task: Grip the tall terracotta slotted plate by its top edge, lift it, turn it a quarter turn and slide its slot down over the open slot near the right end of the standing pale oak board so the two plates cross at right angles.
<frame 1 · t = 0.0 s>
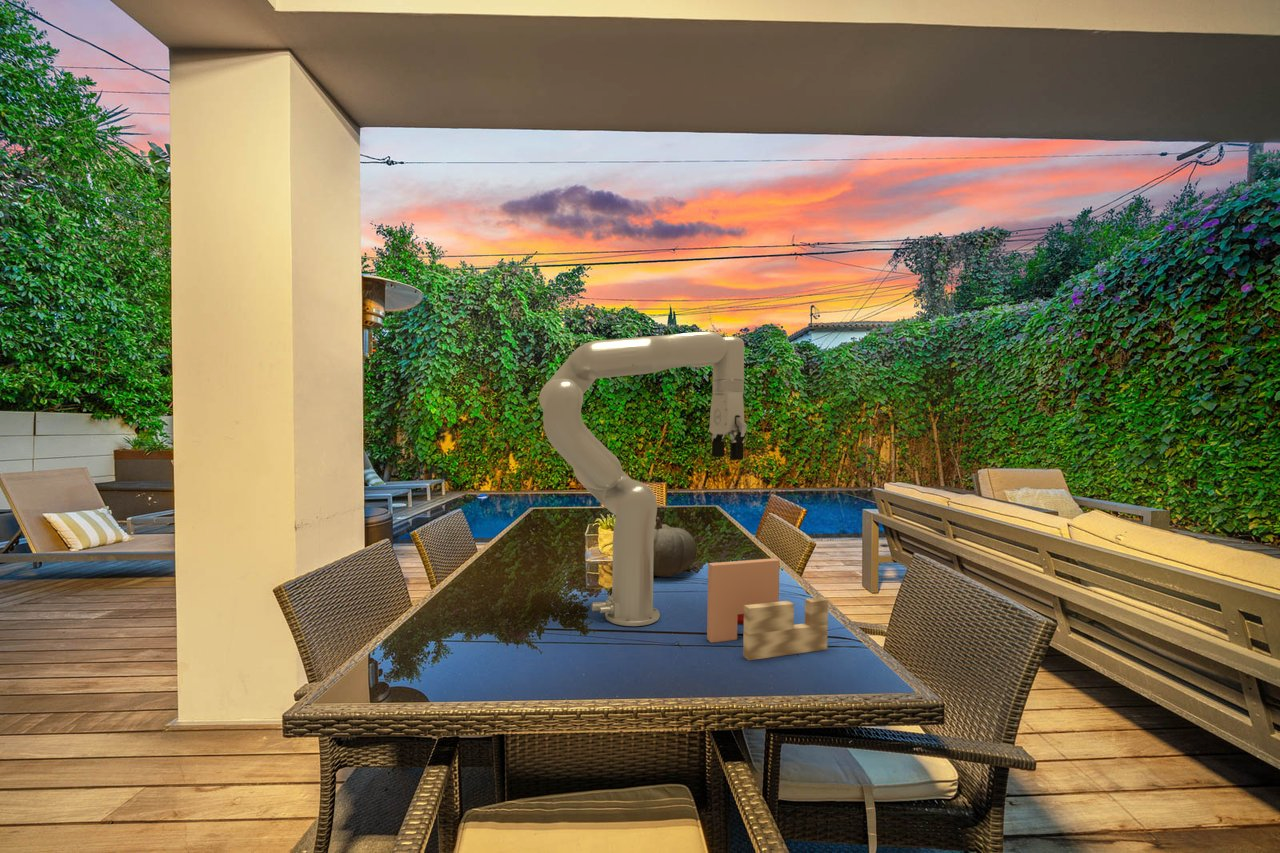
hand: (727, 458, 140), 37 cm above the table, fingers open, 9 cm apart
gourd: (655, 572, 173), on the table
canned food: (741, 619, 133), on the table
terracotta plate: (743, 636, 122), on the table
oak board: (785, 652, 114), on the table
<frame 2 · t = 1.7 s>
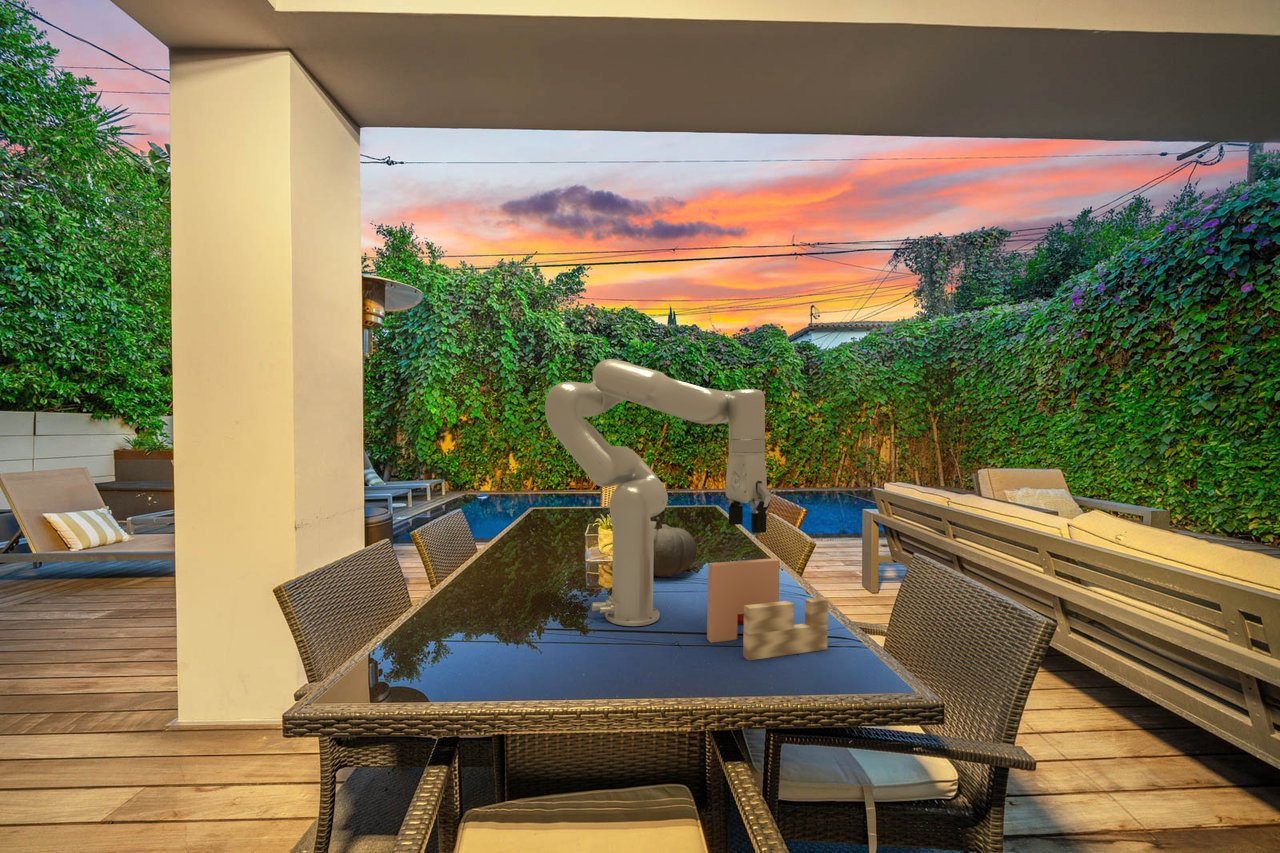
hand: (746, 528, 121), 23 cm above the table, fingers open, 9 cm apart
nothing on the table moved.
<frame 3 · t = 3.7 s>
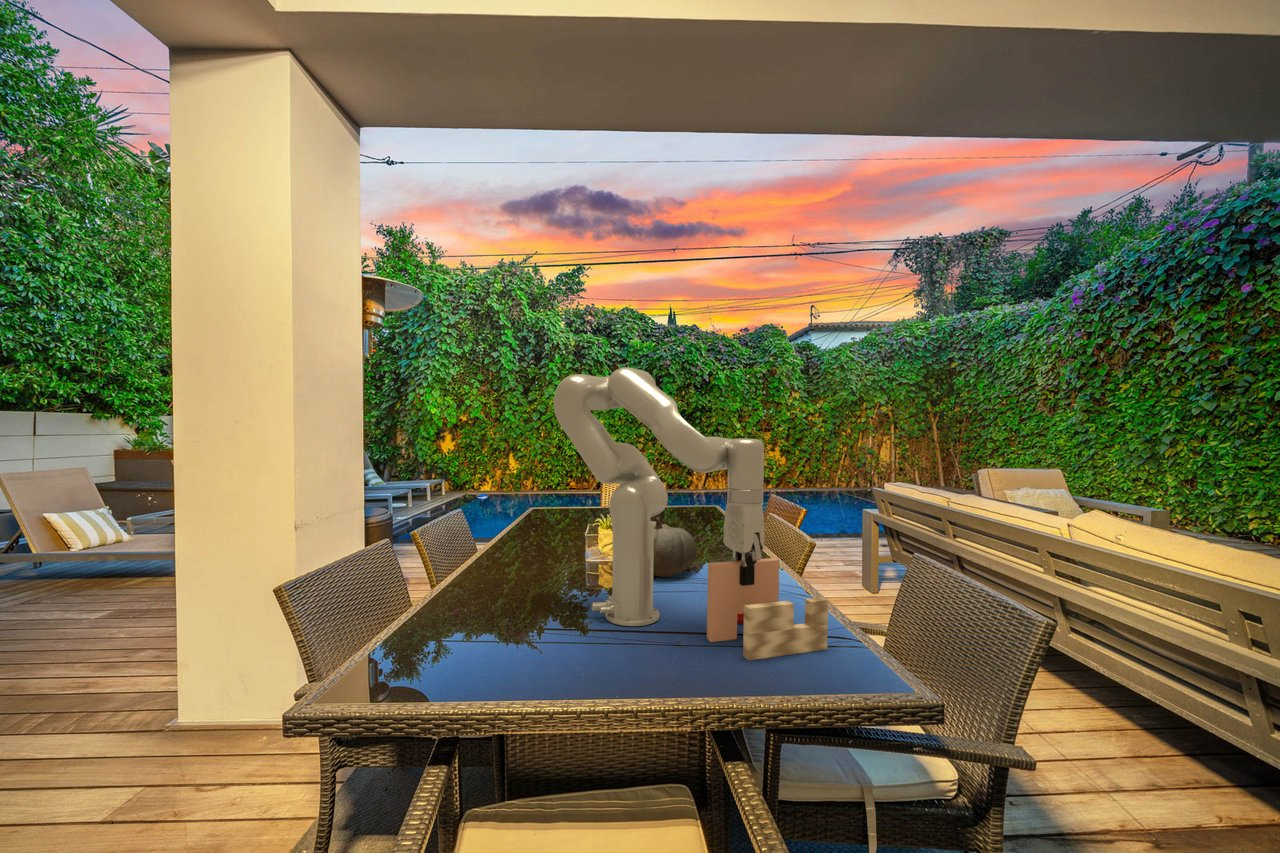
hand: (743, 582, 122), 12 cm above the table, fingers closed on terracotta plate, 2 cm apart
terracotta plate: (742, 636, 122), on the table, touching gripper
everything else where it was.
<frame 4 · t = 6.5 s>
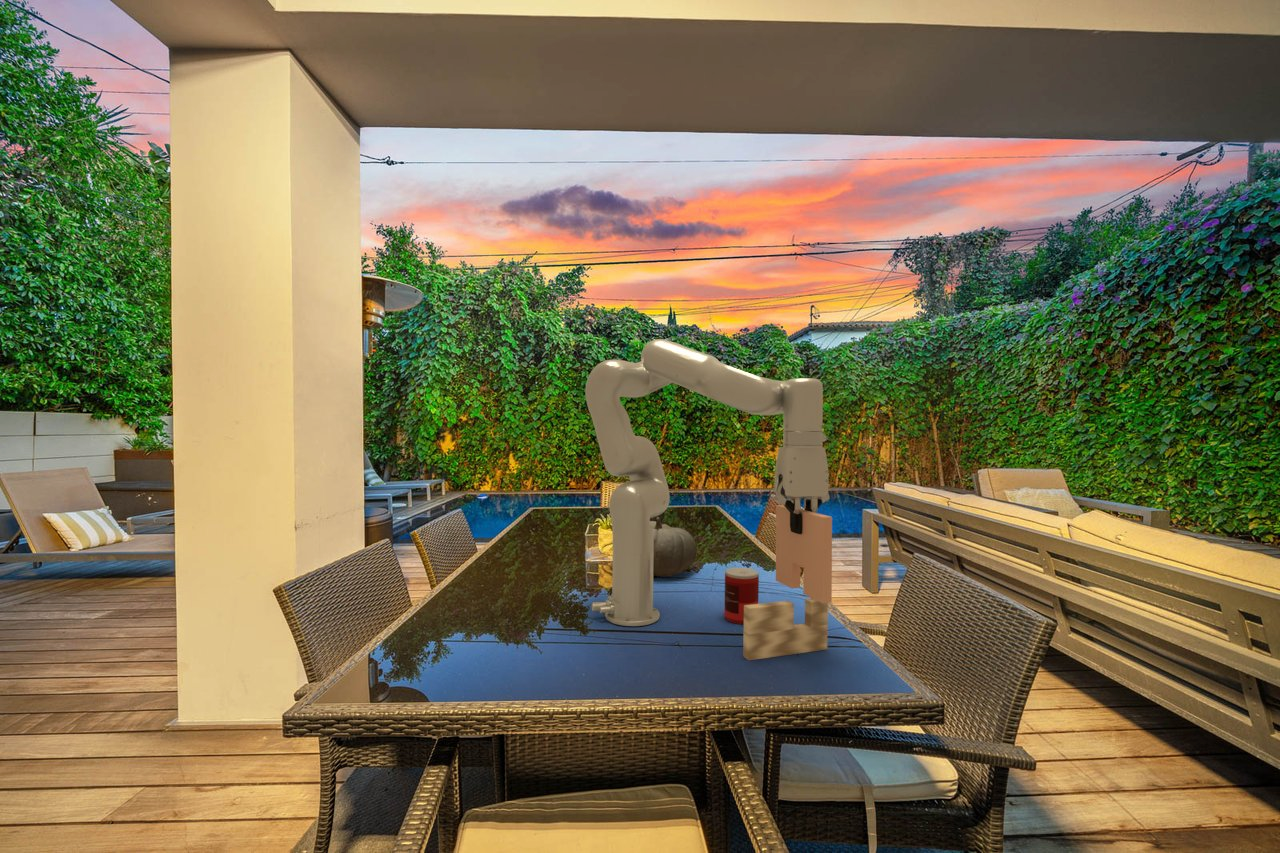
hand: (802, 531, 114), 24 cm above the table, fingers closed on terracotta plate
terracotta plate: (801, 590, 114), point 12 cm above the table, touching gripper
everything else where it was.
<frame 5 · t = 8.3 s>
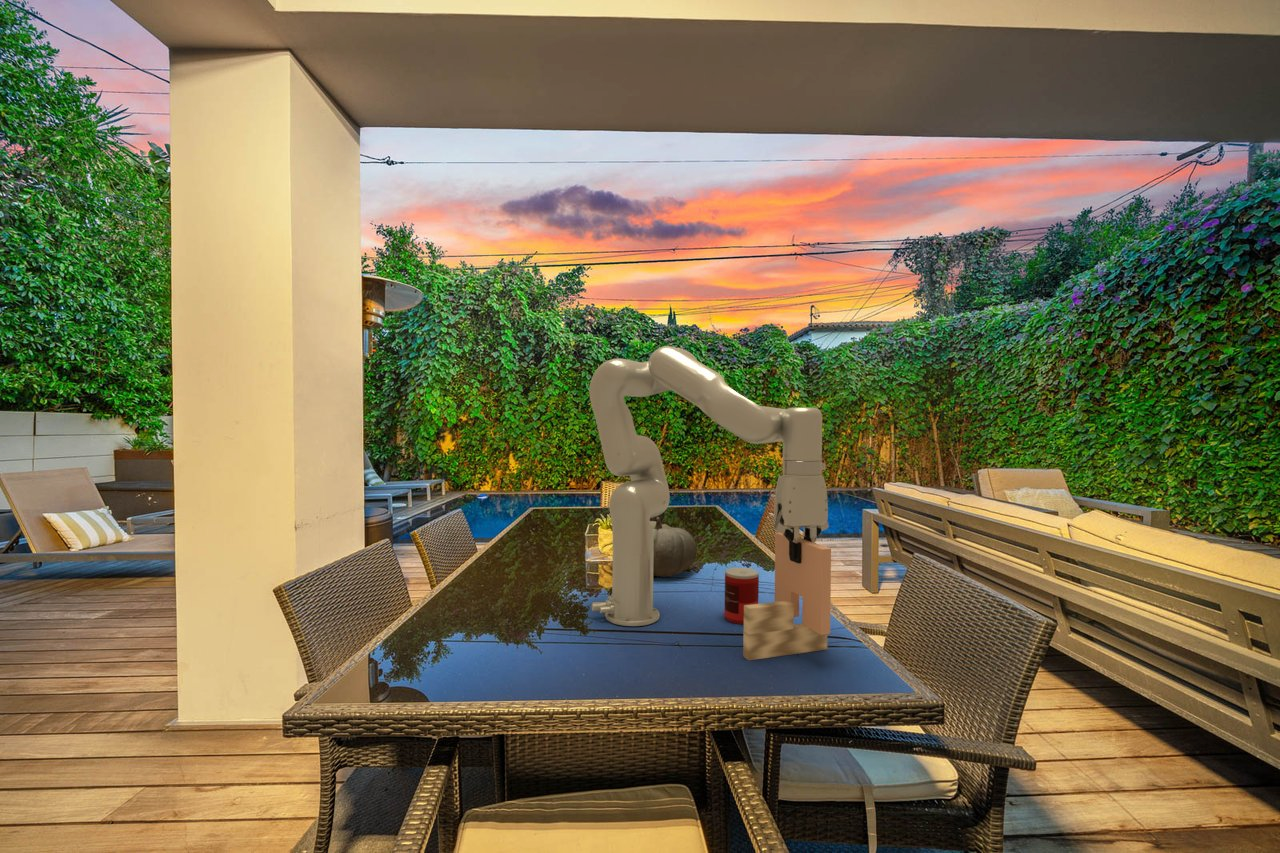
hand: (801, 560, 114), 18 cm above the table, fingers closed on terracotta plate
terracotta plate: (800, 620, 114), point 6 cm above the table, touching gripper
everything else where it was.
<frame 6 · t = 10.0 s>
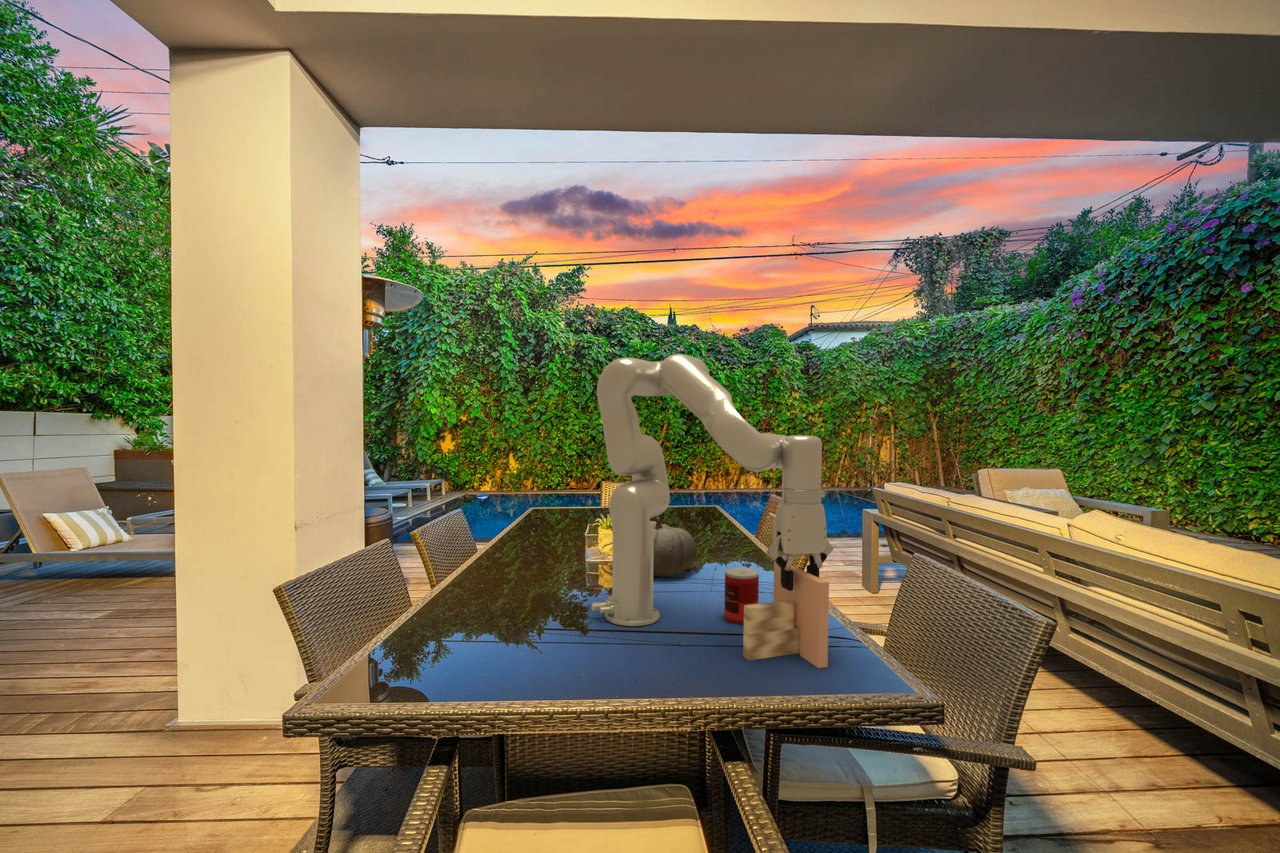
hand: (799, 586, 114), 13 cm above the table, fingers open, 5 cm apart
terracotta plate: (798, 650, 115), on the table
everything else where it was.
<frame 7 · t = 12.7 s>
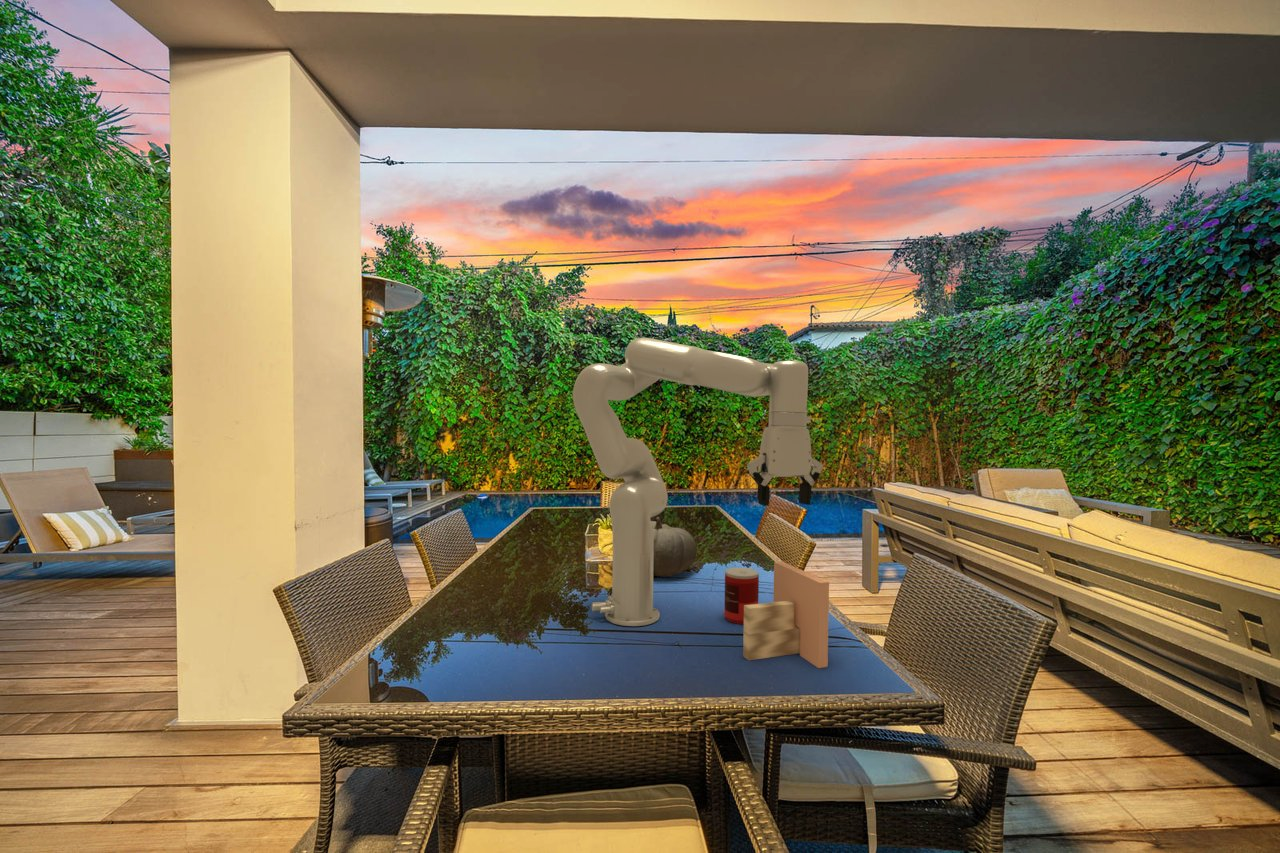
hand: (784, 504, 118), 29 cm above the table, fingers open, 9 cm apart
nothing on the table moved.
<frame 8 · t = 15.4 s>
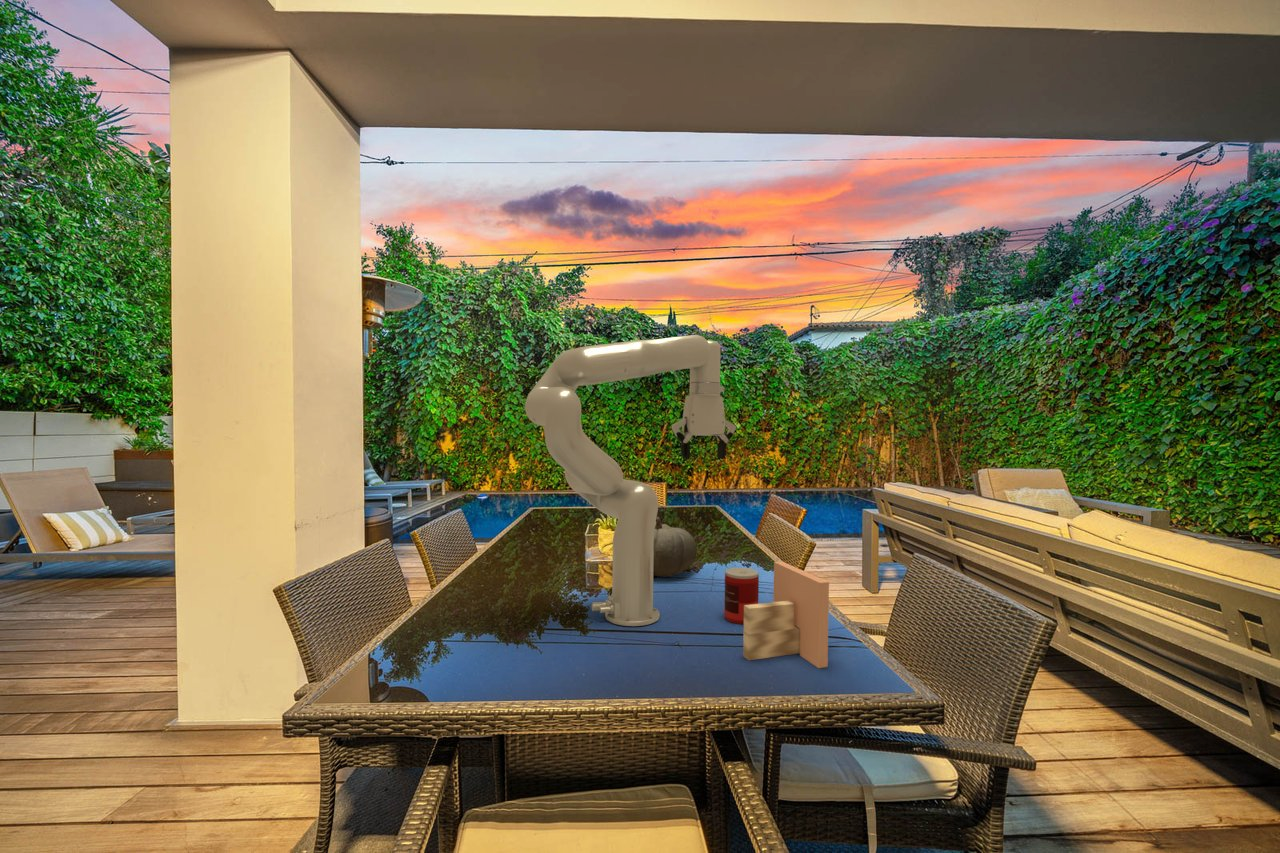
hand: (703, 458, 143), 36 cm above the table, fingers open, 9 cm apart
nothing on the table moved.
at the end: terracotta plate 0.1 cm from the target spot on the oak board, point 0.0 cm above the oak board's base; terracotta plate tilted 0°; the gripper is holding nothing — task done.
